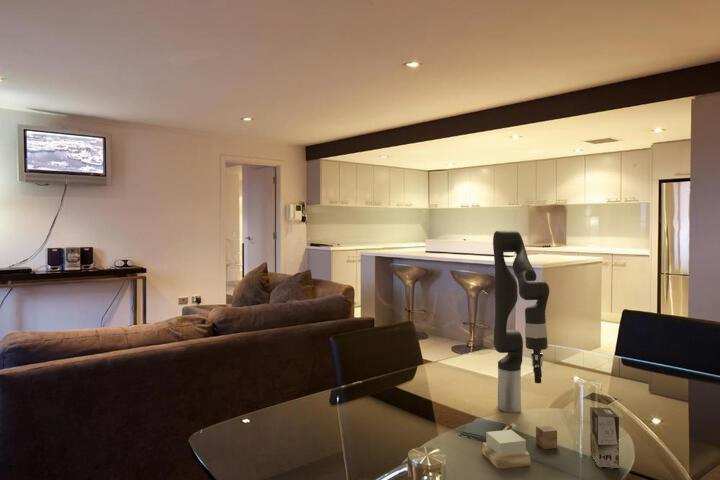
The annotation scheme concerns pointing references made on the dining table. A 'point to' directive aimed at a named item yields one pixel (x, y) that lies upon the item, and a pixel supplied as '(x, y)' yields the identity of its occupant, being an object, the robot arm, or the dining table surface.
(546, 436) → the walnut block
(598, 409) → the coffee box
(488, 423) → the dark grey book
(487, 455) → the tower base
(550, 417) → the dining table surface
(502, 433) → the tower top
